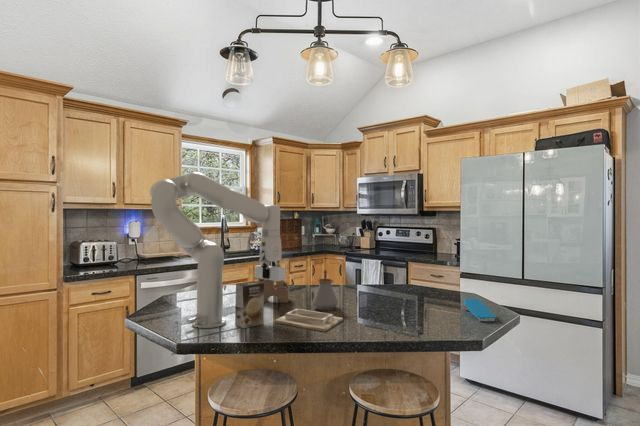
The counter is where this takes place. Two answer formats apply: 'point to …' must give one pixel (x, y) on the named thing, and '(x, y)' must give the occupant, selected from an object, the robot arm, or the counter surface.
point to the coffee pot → (325, 295)
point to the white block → (271, 273)
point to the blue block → (478, 308)
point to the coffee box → (249, 304)
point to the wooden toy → (275, 289)
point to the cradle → (309, 319)
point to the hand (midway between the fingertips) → (269, 276)
